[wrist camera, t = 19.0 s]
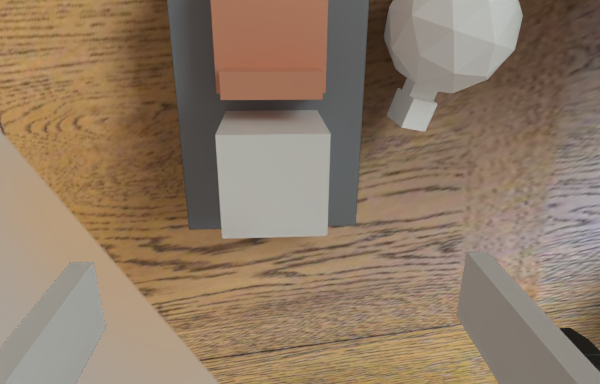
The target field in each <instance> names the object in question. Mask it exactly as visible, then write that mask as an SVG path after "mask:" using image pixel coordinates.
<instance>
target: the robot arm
mask: <svg viewBox="0 0 600 384" xmlns="http://www.w3.org/2000/svg"><path fill="white" fill-rule="evenodd" d="M456 315H457V317H458V319H459V320H460V322H461V323H462V325H463V327H464V328H465V330H466V331H467V333H468V335H469V336H470V338H471V339H472V341H473V343H474V344H475V346H476V347H477V349H478V351H479V352H480V354H481V355H482V357H483V359H484V360H485V362H486V363H487V365H488V367H489V368H490V370H491V371H492V373H493V375H494V376H495V378H496V379H497V381H498V383H499V384H600V351H599V350H598V349H597V348H596V347H595V346H594V345H593V344H592V343H591V342H590V341H589V340H588V339H587V338H585V337H584V336H582V335H581V334H579V333H577V332H576V331H574V330H573V329H571V328H558V327H557V326H556V325H555V324H554V322H553V321H552V320H551V319H550V318H549V317H548V316H547V315H546V314H545V313H544V312H543V311H542V310H541V308H540V307H539V306H538V305H537V304H536V303H535V302H534V301H533V300H532V299H531V298H530V297H529V296H528V294H527V293H526V292H525V291H524V290H523V289H522V288H521V287H520V286H519V285H518V284H517V283H516V282H515V281H514V279H513V278H512V277H511V276H510V275H509V274H508V273H507V272H506V271H505V270H504V269H503V268H502V267H501V265H500V264H499V263H498V262H497V261H496V260H495V259H494V258H493V257H492V256H491V255H490V254H489V253H488V252H467V255H466V261H465V267H464V272H463V278H462V284H461V290H460V296H459V302H458V308H457V314H456ZM105 328H106V324H105V319H104V314H103V309H102V304H101V299H100V293H99V288H98V283H97V279H96V273H95V268H94V263H93V262H72V263H71V262H70V263H69V265H68V266H67V267H66V268H65V270H64V271H63V272H62V273H61V274H60V276H59V277H58V278H57V279H56V280H55V282H54V283H53V284H52V285H51V287H50V288H49V289H48V290H47V291H46V293H45V294H44V295H43V296H42V298H41V299H40V300H39V301H38V302H37V304H36V305H35V306H34V307H33V308H32V310H31V311H30V312H29V313H28V314H27V316H26V317H25V318H24V319H23V321H22V322H21V323H20V324H19V325H18V327H17V328H16V329H15V330H14V331H13V333H12V334H11V335H10V336H9V338H8V339H7V340H6V341H5V342H4V344H3V345H2V346H1V347H0V384H76V382H77V381H78V379H79V377H80V375H81V373H82V372H83V369H84V368H85V366H86V364H87V362H88V360H89V358H90V356H91V355H92V353H93V351H94V349H95V347H96V345H97V343H98V342H99V340H100V338H101V336H102V334H103V332H104V330H105Z"/></svg>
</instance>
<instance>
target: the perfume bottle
mask: <svg viewBox="0 0 600 384" xmlns="http://www.w3.org/2000/svg"><path fill="white" fill-rule="evenodd" d="M522 18H523V14H522V11H521V7H520V3H519V0H393V1H392V3H391V5H390V6H389V11H388V16H387V21H386V26H385V31H384V40H385V42H386V45H387V48H388V50H389V53H390V56H391V59H392V61H393V64H394V67H395V69H396V70H397V71H398V72H400V73H401V74H402V75H404V76H405V77H406V78H407V79H406V81H405V83H404V86H403V88H402V89H401V88H397V91H396V93H395V96H394V98H393V101H392V103H391V105H390V108H389V110H388V113H387V115H386V116H388V117H389V118H390V119H391V120H393V121H394V122H395V123H396V124H398V125H399V126H400V127H401V128H407V129H412V130H418V131H424V132H425V131H426V129H427V127H428V125H429V122H430V120H431V118H432V116H433V114H434V112H435V109H436V107H437V105H438V103H436V102H434V99H435V97H436V95H437V93H438V92H446V93H455V92H458V91H460V90H463V89H465V88H468V87H470V86H473V85H475V84H478V83H480V82H483V81H485V80H488V79H489V78H490V76H491V75H492V74H493V73H494V72H495V71H496V70H497V69H498V68H499V67H500V65H501V64H502V63H503V62H504V61H505V60H506V59H507V58H508V57H509V56H510V55H511V53H512V52H513V51H514V50H515V47H516V43H517V39H518V35H519V31H520V26H521V22H522Z"/></svg>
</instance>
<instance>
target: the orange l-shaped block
mask: <svg viewBox="0 0 600 384" xmlns="http://www.w3.org/2000/svg"><path fill="white" fill-rule="evenodd" d="M211 15H212V31H213V47H214V63H215V78H216V94H220V99H221V100H323V93H326V61H327V24H328V0H211Z"/></svg>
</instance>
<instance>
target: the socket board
mask: <svg viewBox="0 0 600 384" xmlns="http://www.w3.org/2000/svg"><path fill="white" fill-rule="evenodd" d="M167 6H168V16H169V27H170V37H171V47H172V57H173V68H174V78H175V88H176V99H177V109H178V119H179V130H180V140H181V150H182V161H183V171H184V181H185V191H186V202H187V212H188V222H189V230H194V229H221V214H220V199H219V184H218V169H217V154H216V140H215V134H216V132H217V130H218V128H219V125H220V123H221V121H222V119H223V117H224V114H225V112H226V111H259V110H317V111H318V113H319V114H320V116H321V118H322V120H323V121H324V123H325V125H326V126H327V128H328V130H329V132H330V133H331V140H330V171H329V202H328V226H344V225H356V213H357V196H358V179H359V162H360V145H361V128H362V111H363V94H364V77H365V60H366V43H367V26H368V9H369V0H328V24H327V61H326V93H323V100H221V99H220V94H216V78H215V63H214V47H213V31H212V15H211V0H167Z"/></svg>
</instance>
